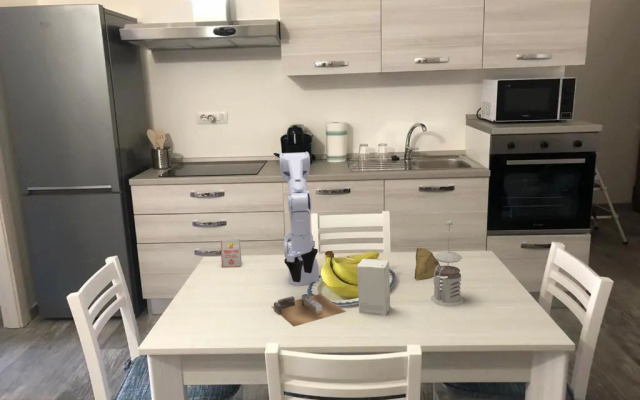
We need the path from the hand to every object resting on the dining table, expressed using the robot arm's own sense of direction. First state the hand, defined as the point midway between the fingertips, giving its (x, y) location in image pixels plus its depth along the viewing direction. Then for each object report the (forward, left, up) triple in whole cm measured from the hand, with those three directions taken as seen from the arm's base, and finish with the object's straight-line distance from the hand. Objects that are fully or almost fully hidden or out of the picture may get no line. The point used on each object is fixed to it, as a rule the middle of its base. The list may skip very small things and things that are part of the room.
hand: (302, 277), depth 155 cm
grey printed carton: (+6, -46, -10) cm, 48 cm away
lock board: (+1, +4, -10) cm, 10 cm away
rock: (-47, +2, -10) cm, 48 cm away
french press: (-38, +20, -10) cm, 44 cm away
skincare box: (-15, +15, -10) cm, 24 cm away
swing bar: (0, +4, -9) cm, 10 cm away
